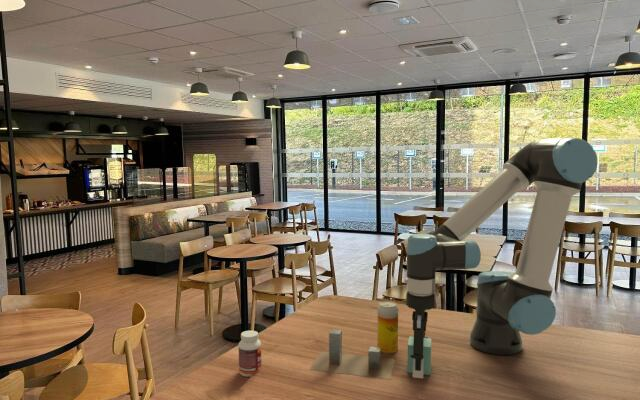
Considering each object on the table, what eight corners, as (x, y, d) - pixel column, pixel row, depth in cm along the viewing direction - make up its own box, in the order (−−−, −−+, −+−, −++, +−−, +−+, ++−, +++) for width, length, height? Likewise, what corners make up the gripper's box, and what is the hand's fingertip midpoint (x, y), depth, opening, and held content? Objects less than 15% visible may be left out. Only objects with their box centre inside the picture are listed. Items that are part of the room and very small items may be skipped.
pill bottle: (262, 376, 127) (262, 337, 126) (239, 378, 126) (238, 339, 124) (260, 365, 133) (259, 328, 132) (238, 368, 132) (237, 330, 130)
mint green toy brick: (430, 368, 131) (431, 338, 130) (430, 379, 125) (430, 347, 124) (408, 366, 132) (409, 336, 131) (407, 376, 126) (407, 345, 125)
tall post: (341, 360, 133) (341, 330, 132) (339, 365, 130) (339, 334, 129) (331, 359, 134) (331, 329, 133) (329, 364, 131) (329, 333, 130)
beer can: (397, 357, 138) (397, 308, 136) (376, 355, 139) (376, 306, 137) (398, 348, 144) (398, 301, 142) (378, 347, 145) (378, 300, 143)
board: (394, 363, 134) (395, 359, 134) (390, 383, 123) (390, 379, 122) (320, 355, 140) (320, 351, 140) (309, 373, 128) (309, 369, 128)
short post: (380, 364, 130) (380, 347, 130) (379, 369, 128) (379, 352, 127) (369, 363, 131) (370, 346, 131) (368, 368, 128) (368, 351, 128)
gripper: (409, 279, 137) (407, 353, 140) (402, 304, 116) (401, 390, 119) (435, 281, 135) (433, 356, 138) (434, 306, 114) (431, 393, 117)
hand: (418, 371), depth 128 cm, fingers open, 9 cm apart
